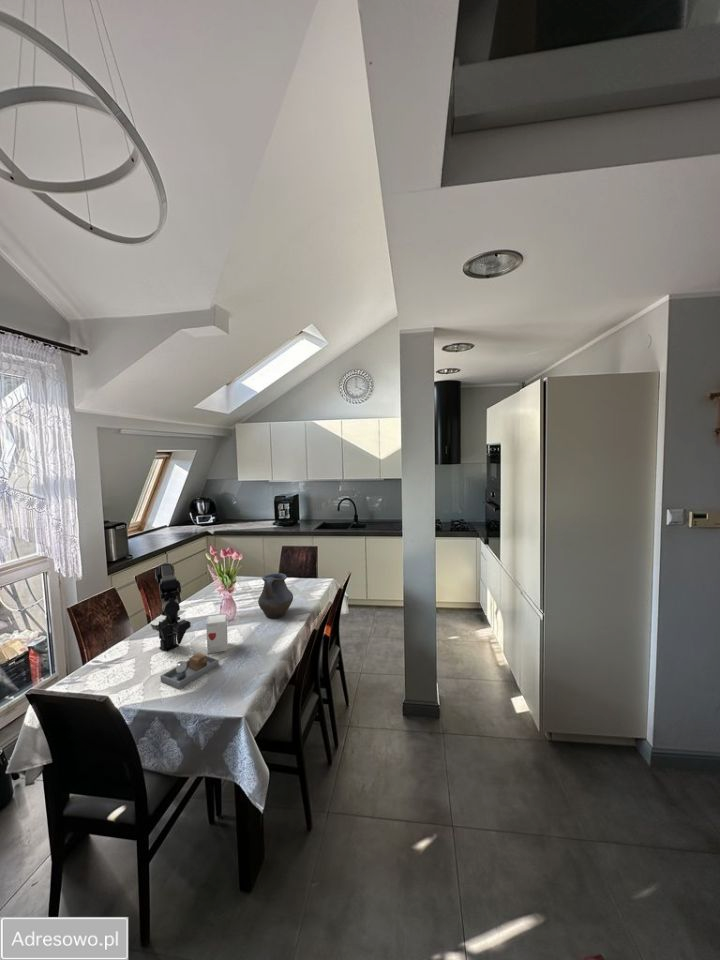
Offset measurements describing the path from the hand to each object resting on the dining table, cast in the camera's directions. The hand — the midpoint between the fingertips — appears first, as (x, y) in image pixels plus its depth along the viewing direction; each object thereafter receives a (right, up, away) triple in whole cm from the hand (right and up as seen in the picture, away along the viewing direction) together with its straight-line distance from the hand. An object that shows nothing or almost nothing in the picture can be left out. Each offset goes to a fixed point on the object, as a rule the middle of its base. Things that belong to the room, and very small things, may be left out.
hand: (172, 641), depth 172 cm
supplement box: (+13, -11, +19) cm, 26 cm away
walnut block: (+11, -12, 0) cm, 16 cm away
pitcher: (+34, -8, +56) cm, 66 cm away
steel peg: (+7, -12, -7) cm, 16 cm away
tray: (+10, -13, -3) cm, 16 cm away
